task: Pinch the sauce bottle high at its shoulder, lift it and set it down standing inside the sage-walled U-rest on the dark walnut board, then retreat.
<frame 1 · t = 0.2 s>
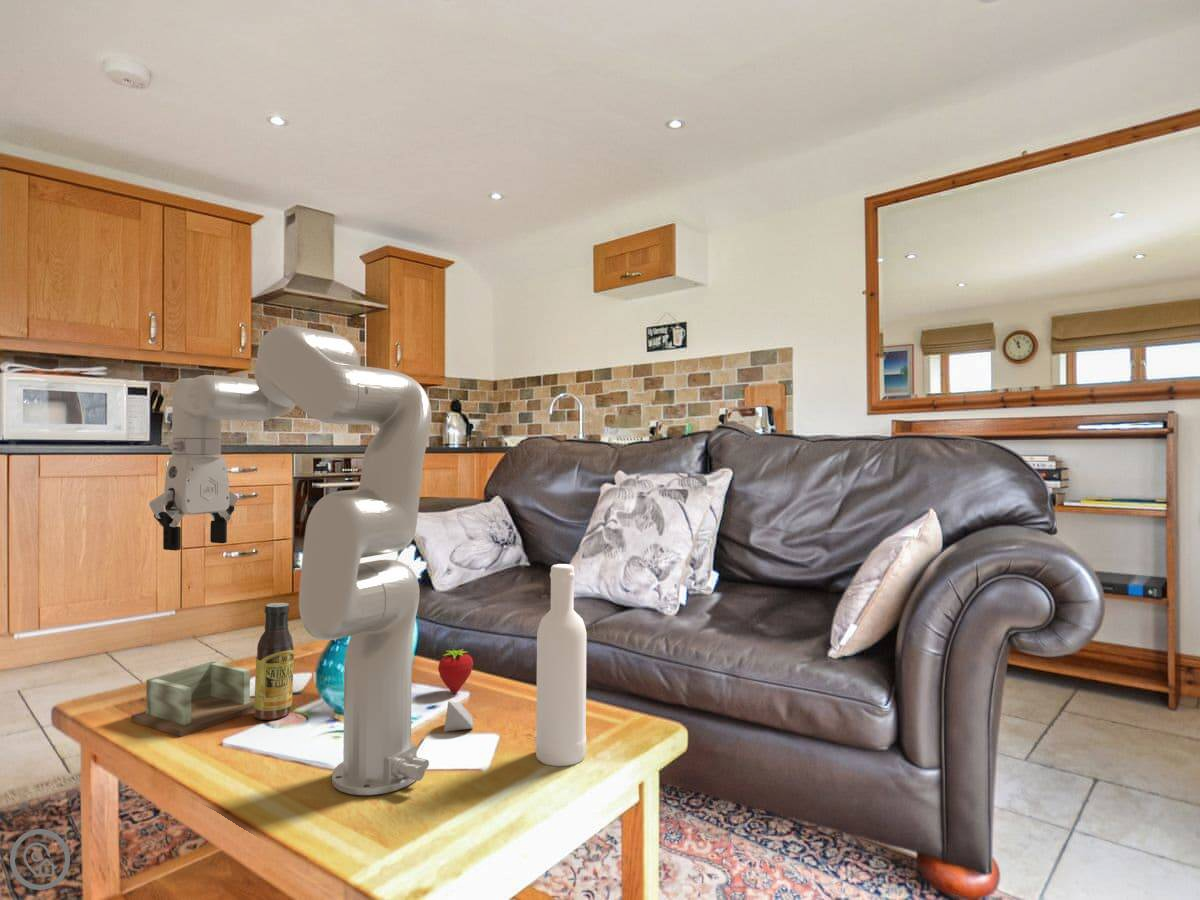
hand: (196, 546, 127), 31 cm above the table, fingers open, 9 cm apart
grey pyramid: (458, 730, 124), on the table
bottle: (560, 757, 113), on the table
sauce bottle: (274, 716, 130), on the table
rest: (200, 713, 130), on the table
strawberry: (455, 694, 142), on the table
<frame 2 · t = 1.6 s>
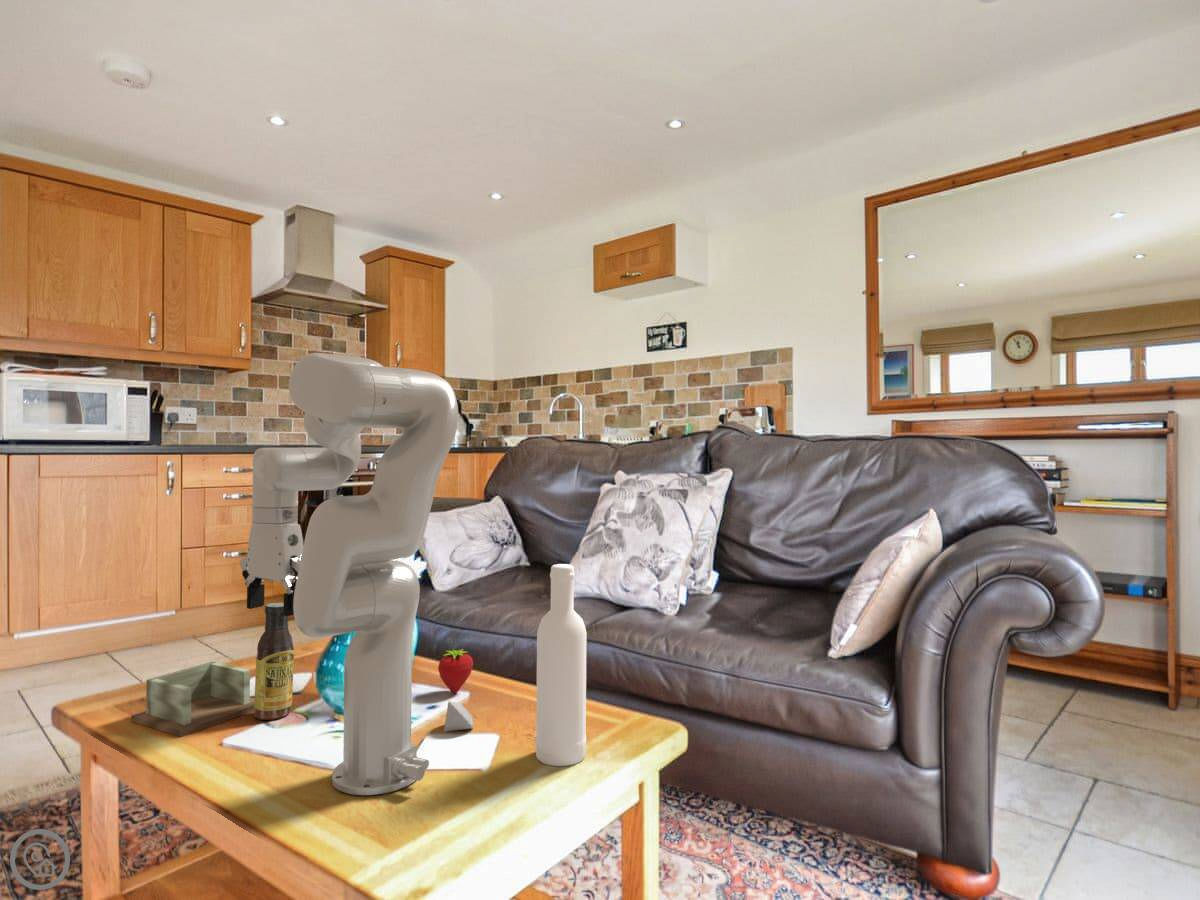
hand: (273, 610, 130), 19 cm above the table, fingers open, 9 cm apart
nothing on the table moved.
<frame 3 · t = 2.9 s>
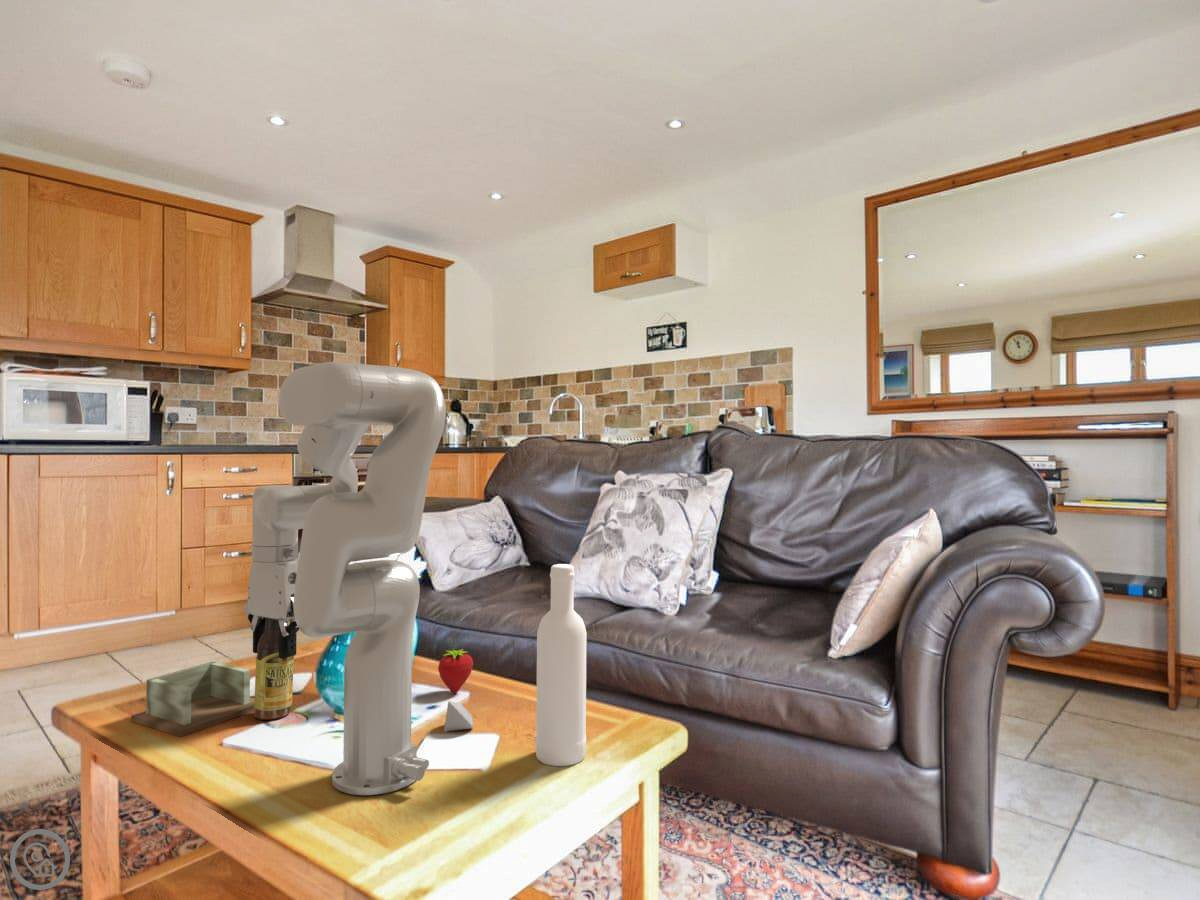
hand: (274, 653, 130), 11 cm above the table, fingers closed on sauce bottle, 6 cm apart
sauce bottle: (274, 716, 130), on the table, touching gripper
everything else where it was.
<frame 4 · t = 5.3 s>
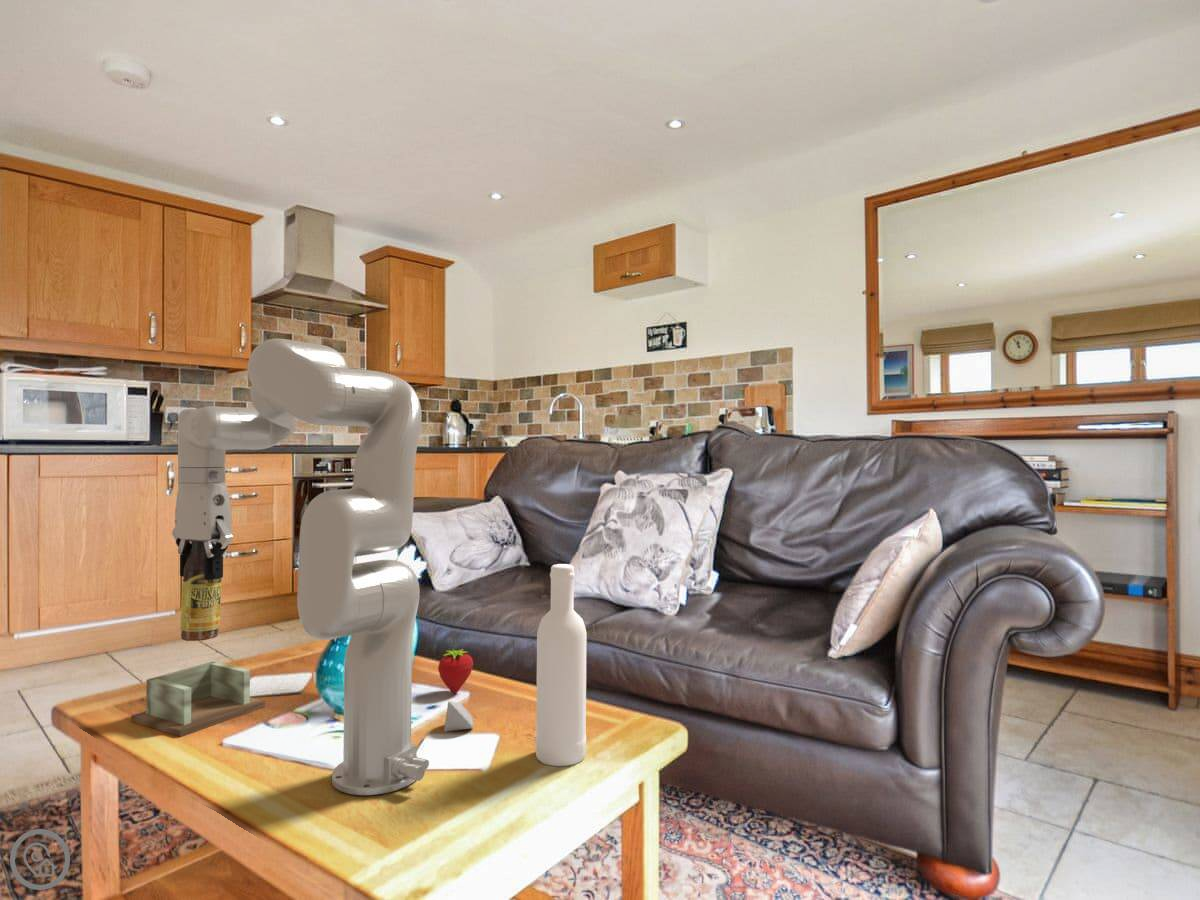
hand: (201, 576, 130), 25 cm above the table, fingers closed on sauce bottle, 6 cm apart
sauce bottle: (201, 639, 130), point 13 cm above the table, touching gripper
everything else where it was.
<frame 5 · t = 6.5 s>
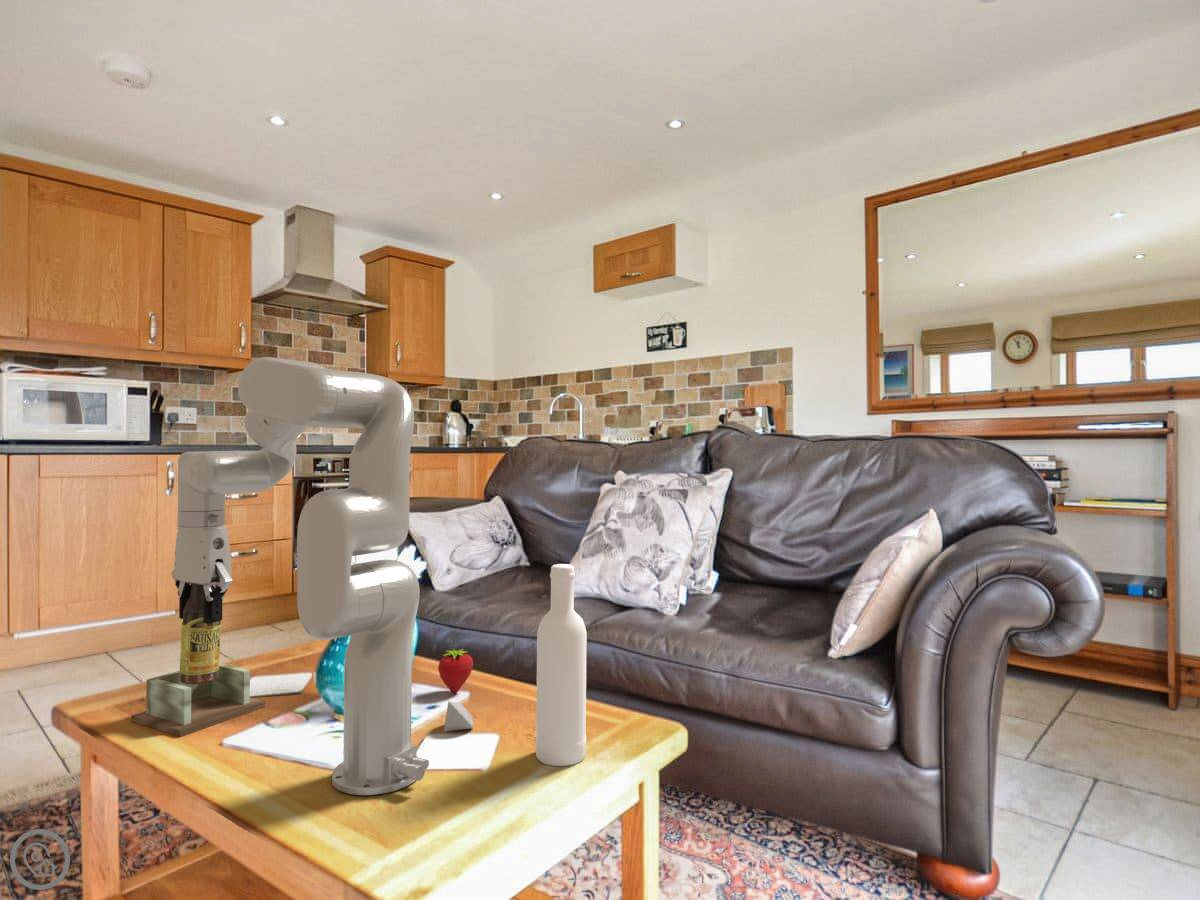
hand: (200, 618, 130), 17 cm above the table, fingers closed on sauce bottle, 6 cm apart
sauce bottle: (200, 681, 130), point 6 cm above the table, touching gripper
everything else where it was.
when the fingers open (13 cm above the table, at t = 7.7 s): sauce bottle drops 1 cm, resting on rest.
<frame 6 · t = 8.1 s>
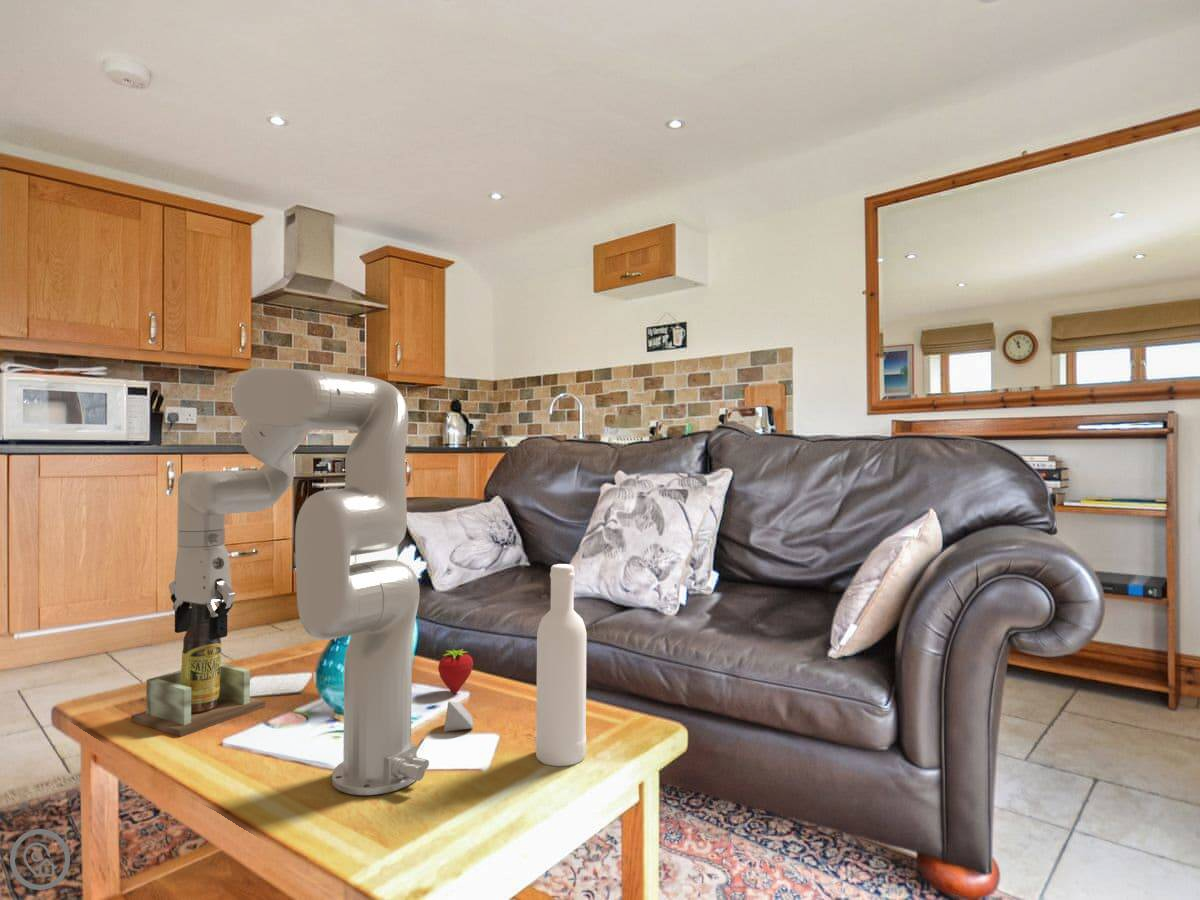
hand: (200, 634, 130), 14 cm above the table, fingers open, 9 cm apart
sauce bottle: (200, 709, 130), point 1 cm above the table, touching rest
everything else where it was.
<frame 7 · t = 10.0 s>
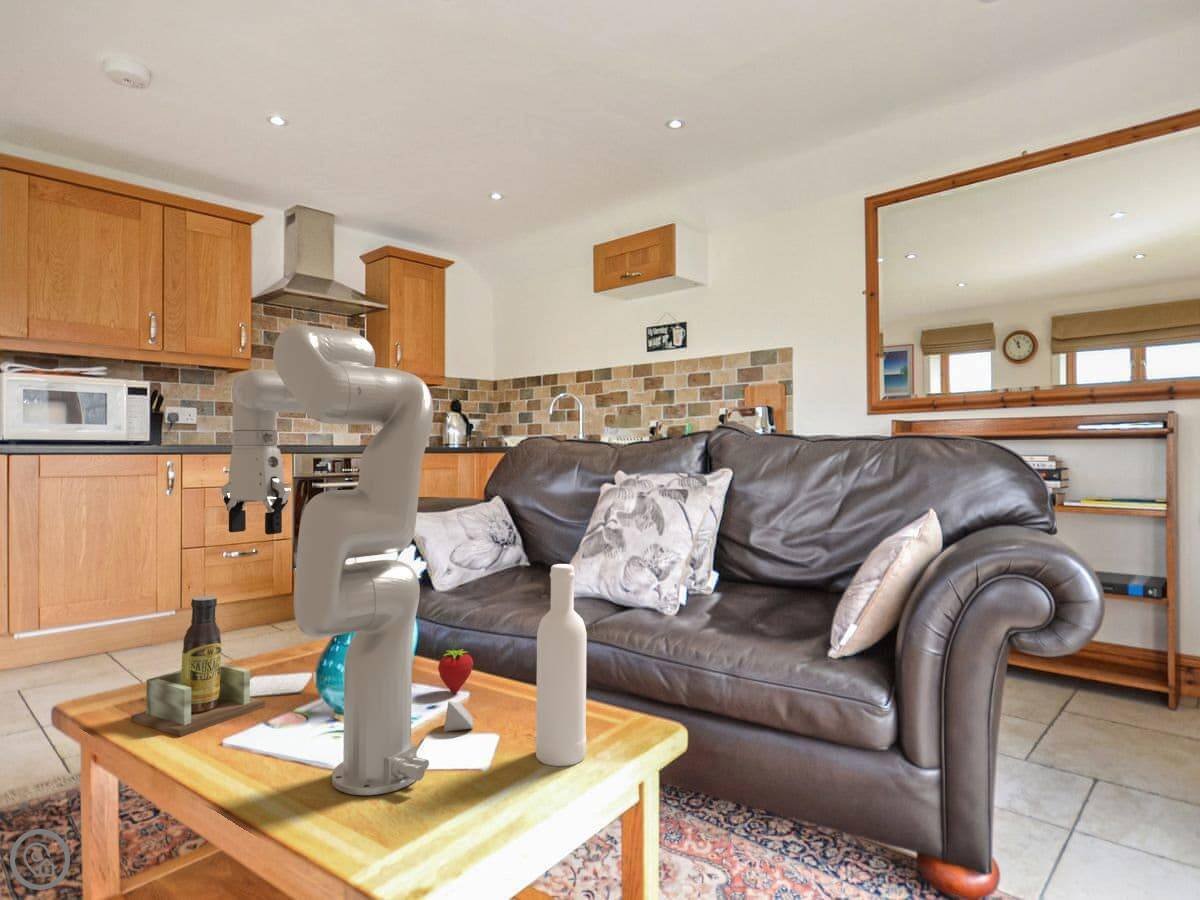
hand: (255, 532, 134), 32 cm above the table, fingers open, 9 cm apart
nothing on the table moved.
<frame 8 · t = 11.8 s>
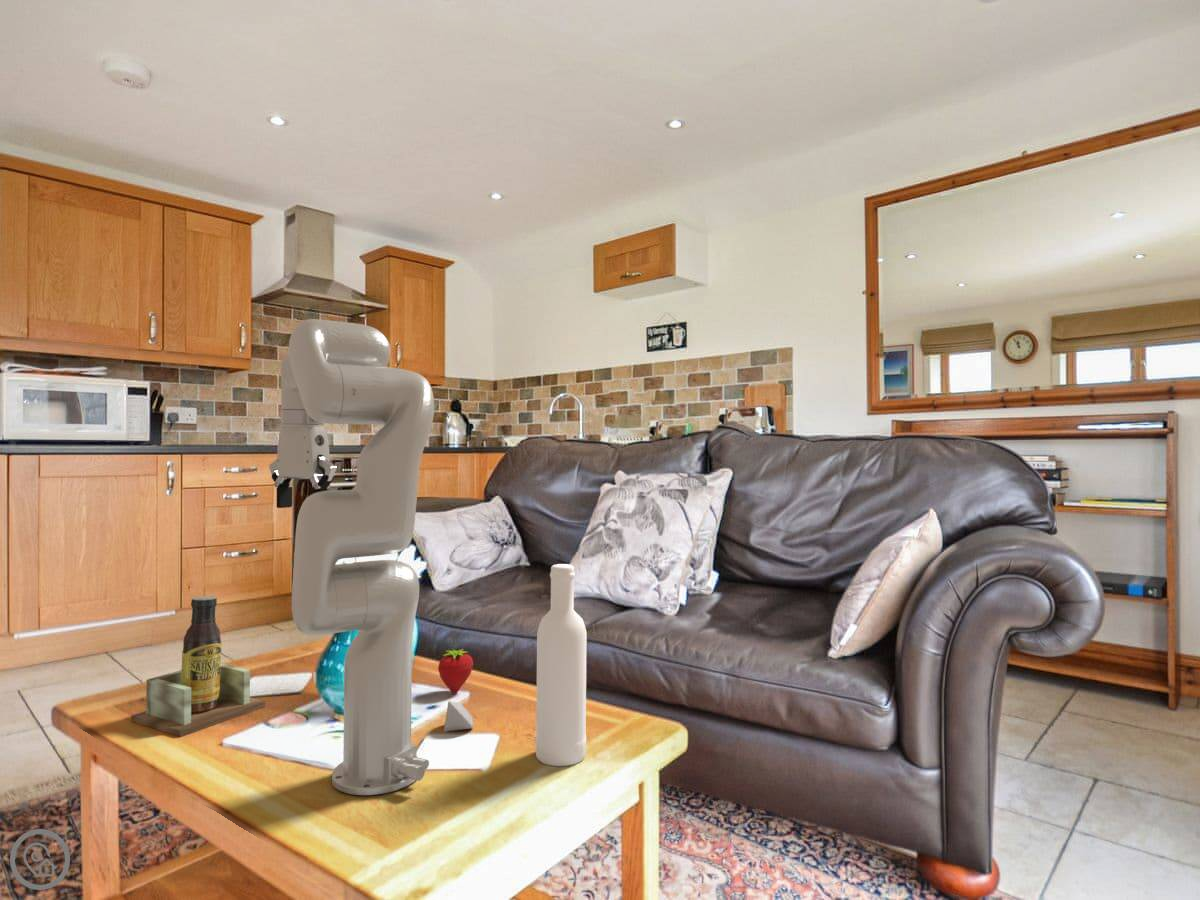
hand: (301, 508, 139), 36 cm above the table, fingers open, 9 cm apart
nothing on the table moved.
at the end: sauce bottle inside the target area on the rest (0.1 cm from its centre), point 0.8 cm above the rest's base; sauce bottle tilted 0°; the gripper is holding nothing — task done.
